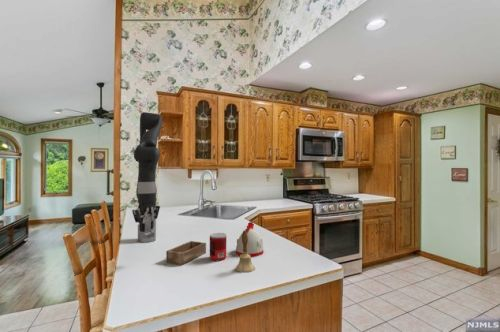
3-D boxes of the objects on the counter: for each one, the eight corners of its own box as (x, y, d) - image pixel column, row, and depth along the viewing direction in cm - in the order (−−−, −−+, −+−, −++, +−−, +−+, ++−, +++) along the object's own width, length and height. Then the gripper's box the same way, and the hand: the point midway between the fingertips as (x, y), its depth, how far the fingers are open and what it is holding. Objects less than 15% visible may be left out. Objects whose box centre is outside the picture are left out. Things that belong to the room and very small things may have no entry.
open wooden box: (166, 262, 114) (166, 251, 114) (191, 250, 130) (191, 240, 130) (182, 265, 110) (182, 253, 110) (205, 253, 126) (205, 242, 126)
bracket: (138, 237, 111) (139, 216, 111) (146, 234, 115) (146, 215, 115) (147, 238, 109) (147, 217, 109) (154, 236, 113) (154, 216, 113)
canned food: (229, 256, 121) (228, 233, 121) (221, 262, 114) (221, 237, 114) (214, 254, 124) (214, 232, 124) (206, 260, 116) (206, 236, 116)
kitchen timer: (267, 250, 131) (267, 221, 131) (257, 258, 118) (256, 226, 119) (243, 246, 137) (243, 219, 137) (230, 254, 124) (230, 224, 124)
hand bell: (248, 274, 101) (248, 233, 101) (231, 269, 105) (231, 231, 105) (258, 267, 108) (258, 229, 108) (242, 263, 112) (242, 227, 112)
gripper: (152, 190, 120) (152, 226, 120) (127, 192, 107) (126, 233, 107) (164, 190, 117) (164, 227, 117) (140, 193, 104) (139, 235, 104)
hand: (146, 230), depth 112 cm, fingers closed on bracket, 4 cm apart
